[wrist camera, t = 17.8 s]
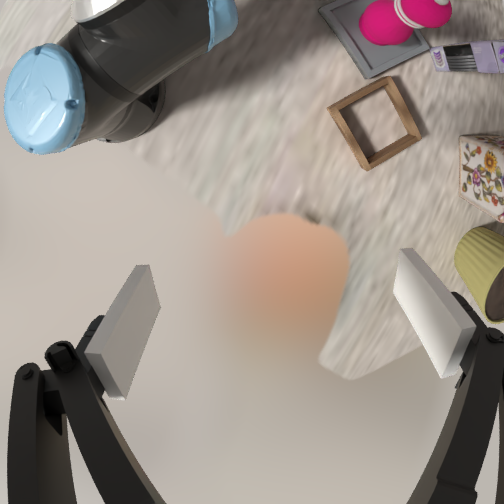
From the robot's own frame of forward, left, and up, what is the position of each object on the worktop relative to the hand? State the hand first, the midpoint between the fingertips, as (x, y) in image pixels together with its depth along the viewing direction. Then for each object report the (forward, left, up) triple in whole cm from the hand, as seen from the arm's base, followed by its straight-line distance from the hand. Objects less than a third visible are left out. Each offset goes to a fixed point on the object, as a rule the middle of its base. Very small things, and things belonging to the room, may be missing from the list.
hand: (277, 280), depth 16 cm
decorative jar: (+21, +35, -35) cm, 54 cm away
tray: (-9, +27, -35) cm, 45 cm away
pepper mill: (-9, +27, -34) cm, 44 cm away
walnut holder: (+4, +18, -35) cm, 39 cm away
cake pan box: (+2, +42, -35) cm, 55 cm away
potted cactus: (+38, +28, -35) cm, 59 cm away
